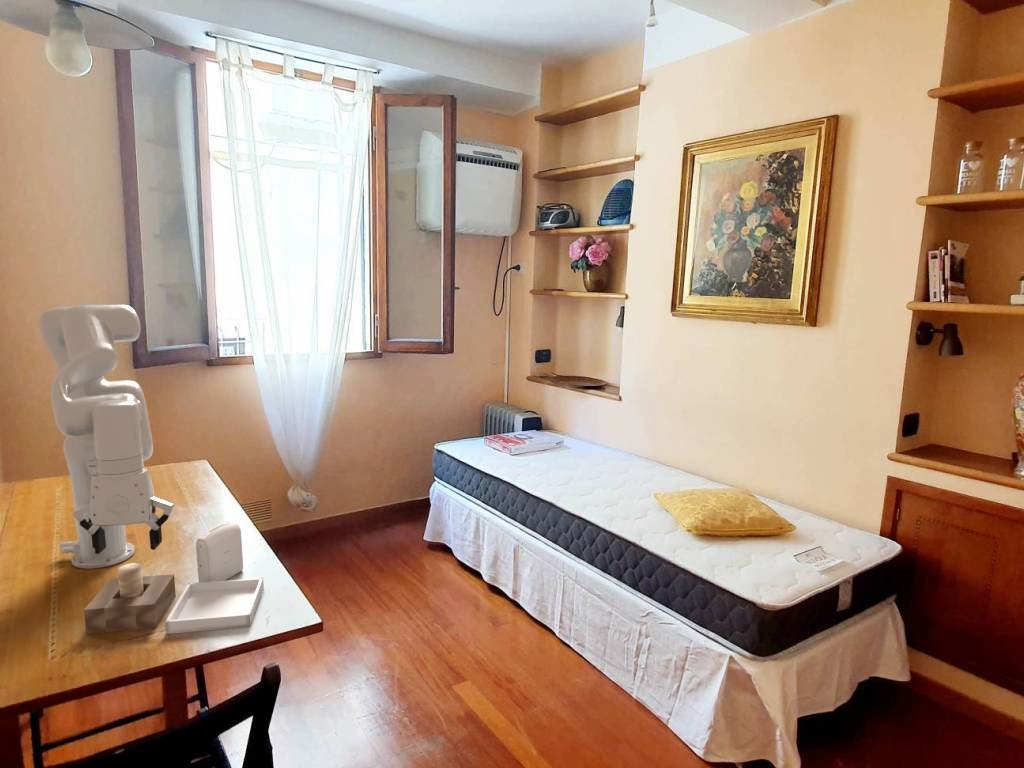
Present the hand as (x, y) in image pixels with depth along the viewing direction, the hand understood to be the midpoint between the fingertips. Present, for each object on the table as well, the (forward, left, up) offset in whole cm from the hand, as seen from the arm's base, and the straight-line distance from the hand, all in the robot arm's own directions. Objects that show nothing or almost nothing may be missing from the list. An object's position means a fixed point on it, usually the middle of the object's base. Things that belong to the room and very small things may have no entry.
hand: (128, 549), depth 120 cm
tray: (+16, 0, -14) cm, 21 cm away
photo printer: (+13, +13, -14) cm, 24 cm away
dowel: (0, +1, -14) cm, 14 cm away
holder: (0, +1, -14) cm, 14 cm away
